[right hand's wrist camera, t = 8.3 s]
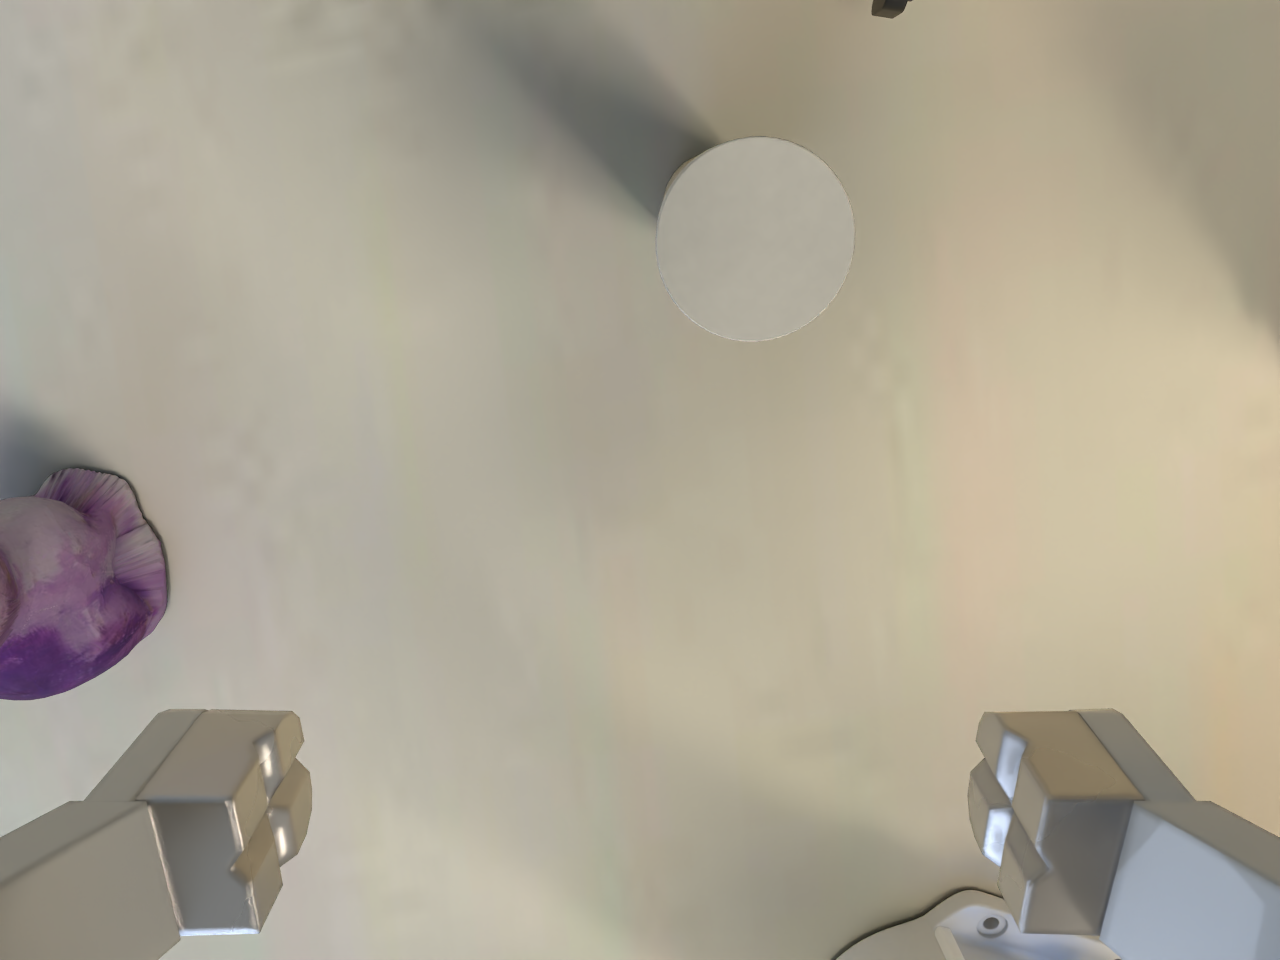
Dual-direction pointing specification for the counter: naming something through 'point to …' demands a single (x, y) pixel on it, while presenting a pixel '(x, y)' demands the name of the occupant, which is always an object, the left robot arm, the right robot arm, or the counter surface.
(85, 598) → the figurine
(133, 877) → the right robot arm
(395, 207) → the counter surface
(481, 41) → the counter surface
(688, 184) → the lid
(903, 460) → the counter surface
